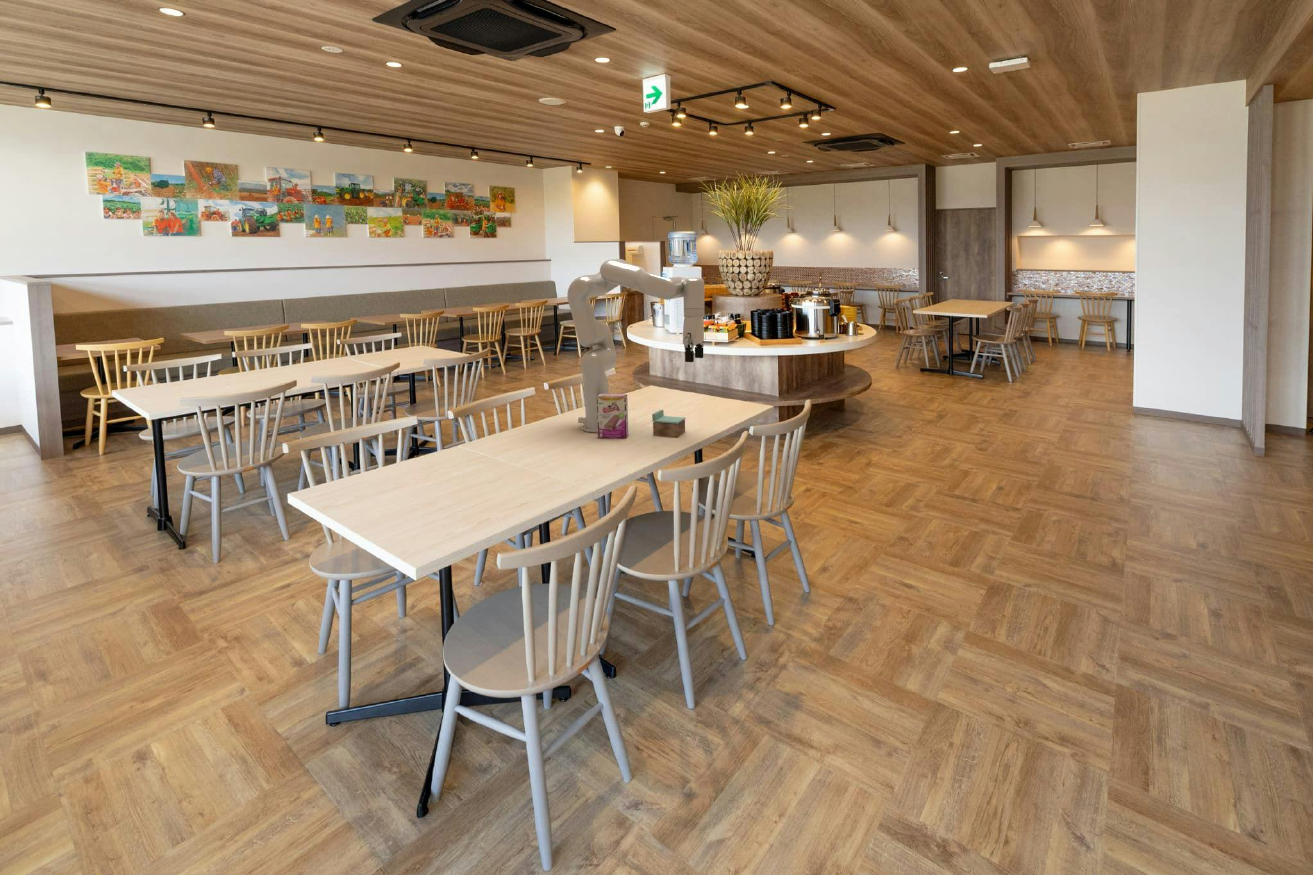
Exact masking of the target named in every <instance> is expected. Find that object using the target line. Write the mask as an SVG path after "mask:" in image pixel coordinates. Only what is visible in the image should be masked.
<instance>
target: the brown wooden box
mask: <svg viewBox="0 0 1313 875" xmlns="http://www.w3.org/2000/svg"><path fill="white" fill-rule="evenodd" d="M652 433H653V434H652V435H653V436H658V437H667V438H668V437H669V438H670V437H671V438H679V437H680V436H682V435H683V434H685V433H686V419H685V420H683V421H682V422H680V423H678V424H673V423H661V422H652Z"/></svg>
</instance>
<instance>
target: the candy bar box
mask: <svg viewBox="0 0 1313 875" xmlns="http://www.w3.org/2000/svg"><path fill="white" fill-rule="evenodd" d="M628 402H629V401H628V394H626V393H609V394H599V395H598V396H597V414H598V432H597V434H598V435H597V437H598V439H627V438H628V436H629V414H628V413H629V409H628V408H629V406H628Z"/></svg>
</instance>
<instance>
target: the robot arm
mask: <svg viewBox="0 0 1313 875" xmlns="http://www.w3.org/2000/svg"><path fill="white" fill-rule="evenodd" d="M618 286H621V287H625V288H628V289H632V290H634V291H638V292H639V293H642V294H644V295H646V296H650V297H654V298H658V299H662V300H667V301H668V300H673V299H679V298H683V318H684V319H683V327H682V344H683V345H684V346H683V347H684V362H686V363H694V360H695V359H704V342H705V341H704V339H705V330H704V329H705V328H704V327H705V326H704V318H705V280H704V279H703V278H700V277H680V276H673V277H663V276H658V275H654V274H651V273H649V272H647V271H646V269H645V268H644V267H642V266H639V265H635V264H631V263H629V262H628V261H627V260H625V259H622V258H616V259H615V258H614V259H613V258H612V259H607V260H605V261H604V262H603V263H602V264H601V266H600V268H599V272H598V273H596V274H585V275H581V276H578V277H577V278H575V279H574V280H572V282H571V283H570V284H569V287H568V289H567V292H566V293H567V294H566V295H567V303H568V305H569V306H568V307H569V309H570V313H571V316H572V320H573V321H572V322H573V325H574V329H575V334H576V337H577V341H578V342H579V344H580V345H581V346H582V347H585V348H591V347H592V349H591V350H589V351H587V352H585V353H584V354H583V355H582V357H581V358H580V370H581V373H582V380H583V393H584V410H585V411H584V412H585V417H583V416H582V417H581V416H579V417H578V419H577V423H578V424H583V425H582V431H584V432H587V433H598V414H597V396H598V395H599V394H610V391H609V383H608V378H607V374H606V372H607V371H609V370H613V368H614V367H615V366H616V364H617V360H618V359H617V358H618V357H617V352H616V347H615V343H614V339H613V335H612V331H611V329H610V327H609V325H608V324H607V323H606V322H605V321H604V320H600V319H596V316H595V311H594V308H593V306H592V304H591V302H590V301H589V300H590V299H592V298H596V297H597V298H598V297H601V296H604V295H606V294H608V293H609V292H611V291H612V290H614V289H616V288H617V287H618Z"/></svg>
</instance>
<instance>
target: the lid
mask: <svg viewBox="0 0 1313 875" xmlns="http://www.w3.org/2000/svg"><path fill="white" fill-rule="evenodd" d="M664 414H665V413H664V409H659V410H657V411H655V412H654V413H652V414H651V417H652V420H651V421H652V423H653V422H661V423H673V424H678V423H680V422H682V421H683V420H685V421H686V419H687V418H686V417H684V416H683V417H682V416H671V415H669V416H668V415H664Z"/></svg>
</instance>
